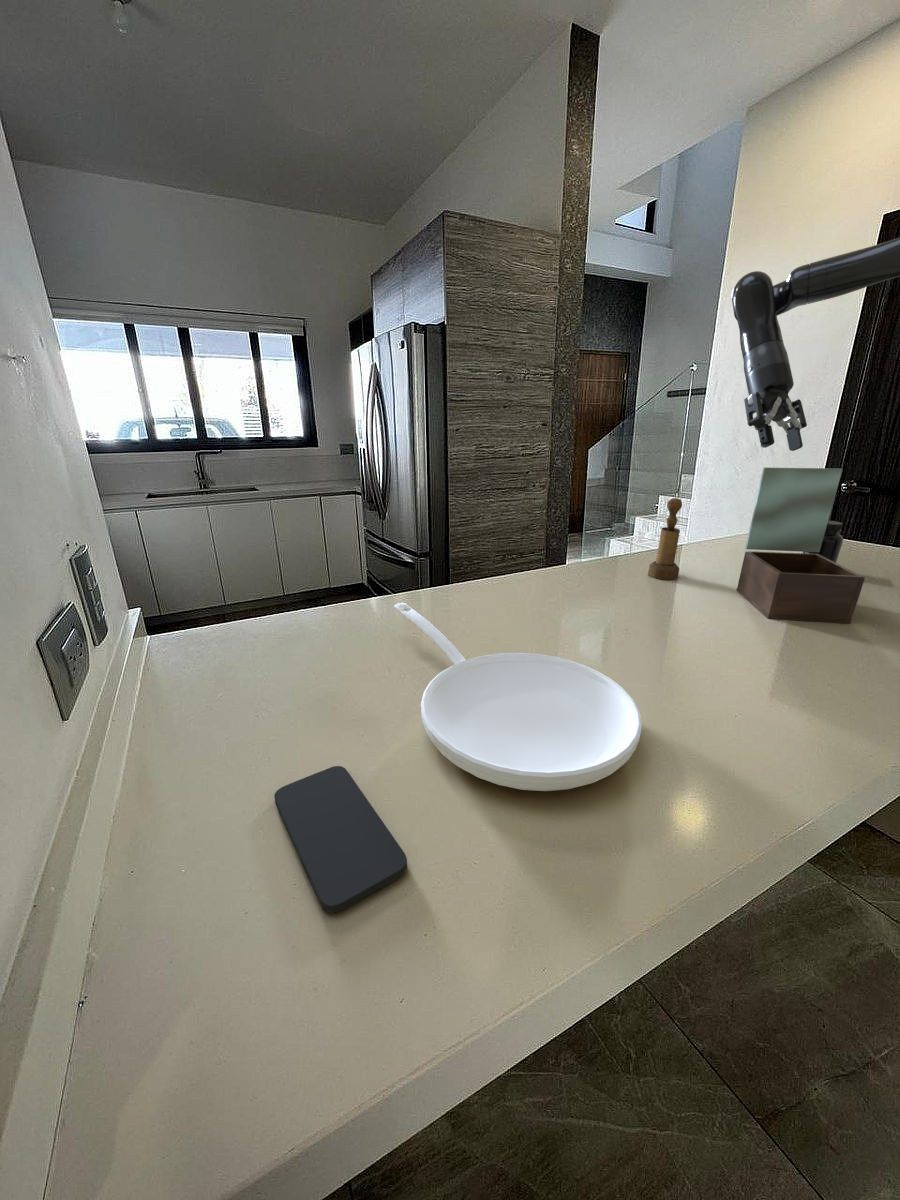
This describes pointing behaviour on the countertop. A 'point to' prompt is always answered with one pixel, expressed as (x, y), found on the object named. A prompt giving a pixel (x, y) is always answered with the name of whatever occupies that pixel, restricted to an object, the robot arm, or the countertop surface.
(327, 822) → the phone
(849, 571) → the case
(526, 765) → the pan
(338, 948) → the countertop surface
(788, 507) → the glass lid
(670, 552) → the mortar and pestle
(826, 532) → the supplement bottle
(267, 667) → the countertop surface
